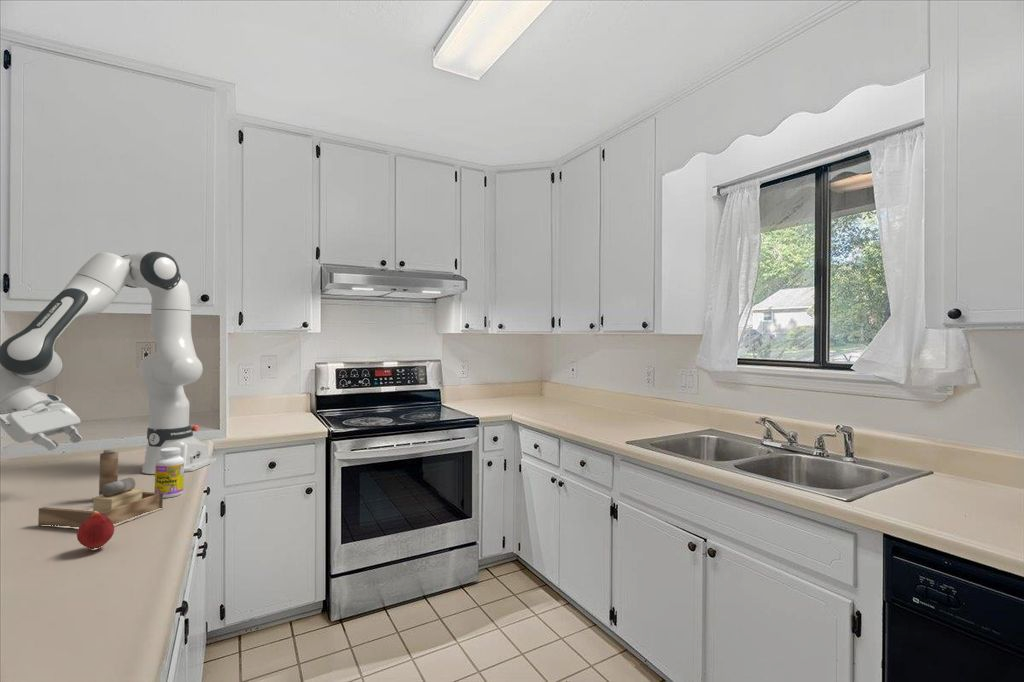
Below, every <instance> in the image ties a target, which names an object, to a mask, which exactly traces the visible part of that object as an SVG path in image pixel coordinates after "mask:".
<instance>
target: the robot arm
mask: <svg viewBox="0 0 1024 682" xmlns="http://www.w3.org/2000/svg"><path fill="white" fill-rule="evenodd" d="M179 267H180V266H179V265H178V263H177V261H176V259H175V258H174V257H173V256H171V255H170V254H168V253H165V252H161V251H142V252H141V251H139V252H137V253H133V254H125V255H121V256H120V255H119V254H116V253H112V252H109V251H101V252H98V253H96V254H95V255H93V256H92V257H91V258H90V259H89V260H87V261H86V262H85V263H84V264H82V266H80V268H79V270H78V271H77V272H76V273H75V274H74V275H73V277H71V279H70V280H69V282H68V283H67V284H66V285H65V287H64V288H63V289H62V290H61V291H60V292H59V293H58V294H57V295H56V296H55V297H54V298H53V299H52V300H51V301H50V302H49V303H48V304H47V305H46V306H45V308H44V309H43V310H41V312H40V313H39V314H38V315H37V316H36V317H35V318H34V319H33V320H32V321H31V323H29V325H27V326H26V327H25V328H24V329H23V330H21V331H19V332H17V333H16V334H14V335H12V336H11V337H10V336H9V338H7V339H6V340H5V341H3V342H2V344H1V345H0V427H1V428H2V429H3V430H4V432H6V434H7V435H8V436H10V438H11V439H12V440H13V441H14V442H17V443H20V444H23V443H26V442H30V441H32V442H33V443H35V444H37V445H40V446H42V447H44V448H45V449H46V450H48V451H54V450H55V449H56V448H57V447H59V443H57V442H56V441H55V440H54V439H53V440H51V439H49V438H48V437H50V436H55V435H57V434H63V433H64V434H65V435H68V436H69V440H70V441H71V442H72V443H73V444H77V443H80V442H81V441H82V440H83V436H81V435H80V434H79V430H78V429H77V427H78V426H79V425H80V424H82V423H81V419H80V416H78V415H77V414H76V413H75V412H74V411H73V410H72V409H71V408H70V407H69V406H67V405H66V404H65V403H62V398H61V397H60V396H58V395H55V394H50V393H46V392H42V391H38V390H37V389H36V388H37V387H39V386H43V385H44V384H46V383H49V382H51V381H52V380H54V379H56V378H57V377H58V376H59V375H60V374H61V373H62V370H63V368H64V363H63V360H62V358H61V356H60V355H59V354H58V353H57V352H56V351H55V348H54V347H55V344H56V341H57V340H58V338H59V337H60V336H61V335H62V334H63V332H64V331H65V330H66V329H67V327H69V325H70V324H71V323H72V322H73V321H74V320H75V319H76V318H78V317H79V316H81V315H85V316H86V315H87V316H88V315H89V316H92V315H99V314H101V313H103V312H104V311H105V310H106V309H107V308H108V307H110V305H111V304H112V303H113V302H114V301H115V299H116V298H117V297H118V295H119V294H120V292H121V291H122V288H124V287H128V288H132V289H135V288H136V289H137V288H138V289H141V288H145V289H147V290H148V291H149V294H150V296H151V303H150V305H151V308H150V309H151V310H150V313H151V314H150V333H151V336H152V337H153V340H154V342H155V344H156V349H157V351H156V352H153V353H151V354H148V355H146V356H145V357H144V358H143V359H141V361H140V364H139V373H140V375H141V377H142V378H143V380H144V384H145V389H146V393H147V399H148V407H149V408H148V409H149V410H148V411H149V413H148V418H149V419H148V427H147V430H146V431H147V432H146V439H147V441H148V442H147V444H146V449H145V455H144V460H143V461H144V462H143V464H142V465H141V466H142V467H141V473H143V474H149V475H155V464H156V461H157V460H158V459H159V458H161V454H160V450H161V449H163V448H170V447H179V448H180V449H181V452H180V454H179V456H180V457H182V458H183V459H184V473H185V472H186V473H187V472H194V471H197V470H199V469H201V468H203V467H206V466H208V465H210V464H212V463H215V462H217V458H216V457H212V456H209V455H210V454H209V447H208V444H206V443H204V442H203V441H202V440H200V439H199V438H198V437H195V435H194V433H193V432H198V431H199V430H200V428H199V425H194V424H192V425H190V406H191V405H190V401H189V399H188V397H187V395H186V393H185V389H184V386H187V385H190V384H194V383H196V382H197V381H198V380H199V379H200V378H201V377H202V374H203V370H204V369H203V363H202V361H201V360H200V359H199V358H198V355H197V353H196V349H195V346H194V341H193V338H192V302H191V293H190V288H189V285H188V283H187V282H186V280H184V279H182V278H181V277H182V276H181V273H180V268H179Z"/></svg>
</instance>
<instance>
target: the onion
mask: <svg viewBox="0 0 1024 682" xmlns="http://www.w3.org/2000/svg"><path fill="white" fill-rule="evenodd" d="M114 533H115V527H114V525H113V522H112V521H111V520H110V519H109V518H108V517H106V516H104V515H102V514H100V513H99V512H98V511H93V512H92V516H91V517H89V518H88V519H86V520H85V521H84V522H83V523H82V525H81V526H80V527H79V529H78V530H77V532H76V538H77V541H78V543H79V544H80V545H82V546H83V547H85V548H87V549H89V548H90V549H94V548H99V547H100V548H102V547H104V546H105V545H106V544H107V543H108V542H109V541H110V540H111V539H112V537H114V536H113V535H114ZM101 546H102V547H101ZM100 548H99V549H100ZM90 549H89V550H90Z"/></svg>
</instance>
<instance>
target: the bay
mask: <svg viewBox="0 0 1024 682" xmlns="http://www.w3.org/2000/svg"><path fill="white" fill-rule="evenodd" d="M102 495H103V494H102ZM163 500H164V498H163V493H154V492H148V491H144V492H142V499H140V500H137V501H134V502H131V503H129V504H126V505H123V506H120V507H117V508H114V509H111V510H108V511H105V512H99V513H100V514H102V515H104V516H106V517H108V518H109V519H110V520H111V521H112V522H113V524H116V523H119V522H122V521H124V520H127V519H130V518H132V517H135V516H138V515H141V514H143V513H146V512H150V511H153V510H156V509H159V508H162V509H163V502H164V501H163ZM84 510H85V509H82V510H81V509H71V508H69V509H68V508H61V507H59V508H58V507H49V506H48V507H44V506H43V507H39V508H38V524H37V526H38V525H51V526H52V525H53V526H55V525H56V526H58V525H59V526H70V527H80V526H81V525H82V523H83V522H84V521H85V520H86V519H88V518H89V517H91V516H92V512H93V511H84Z"/></svg>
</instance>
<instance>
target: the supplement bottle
mask: <svg viewBox="0 0 1024 682" xmlns="http://www.w3.org/2000/svg"><path fill="white" fill-rule="evenodd" d="M180 452H181V449H180V448H179V447H170V448H163V449H161V450H160V454H161V458H159V459H158V460H157V461H156V464H155V474H154V491H153V493H163V499H169V498H174V497H177V496H180V495H182V494H183V492H184V482H185V481H184V480H185V472H184V459H183V458H182V457H180V456H179V454H180Z"/></svg>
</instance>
